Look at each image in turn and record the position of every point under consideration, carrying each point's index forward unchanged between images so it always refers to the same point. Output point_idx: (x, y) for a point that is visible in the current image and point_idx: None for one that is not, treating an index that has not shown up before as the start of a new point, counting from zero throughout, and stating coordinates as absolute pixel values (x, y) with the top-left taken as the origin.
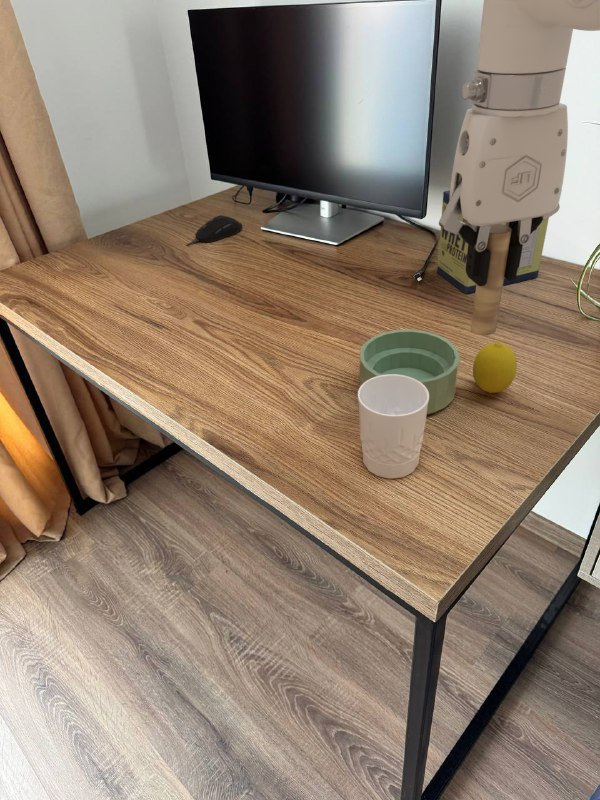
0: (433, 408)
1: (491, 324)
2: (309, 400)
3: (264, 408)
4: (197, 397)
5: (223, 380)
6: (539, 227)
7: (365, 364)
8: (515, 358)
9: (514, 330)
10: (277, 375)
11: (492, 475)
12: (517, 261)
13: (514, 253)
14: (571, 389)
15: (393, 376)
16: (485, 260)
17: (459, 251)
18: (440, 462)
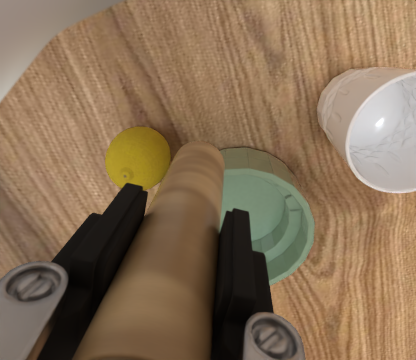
0: (248, 150)
1: (200, 149)
2: (349, 247)
3: (402, 262)
4: None
5: (401, 322)
6: None
7: (308, 247)
8: (111, 146)
9: (40, 226)
10: (346, 300)
11: (266, 4)
12: (107, 216)
13: (110, 246)
14: (49, 91)
15: (364, 179)
16: (250, 269)
17: None
18: (304, 66)
